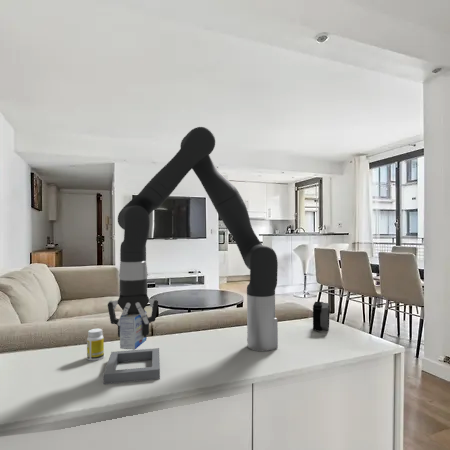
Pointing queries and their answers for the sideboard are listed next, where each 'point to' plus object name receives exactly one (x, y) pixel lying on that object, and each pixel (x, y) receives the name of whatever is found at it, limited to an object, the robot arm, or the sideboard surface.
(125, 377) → the block
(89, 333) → the supplement bottle
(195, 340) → the sideboard surface
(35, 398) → the sideboard surface
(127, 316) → the medicine box
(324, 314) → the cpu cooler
